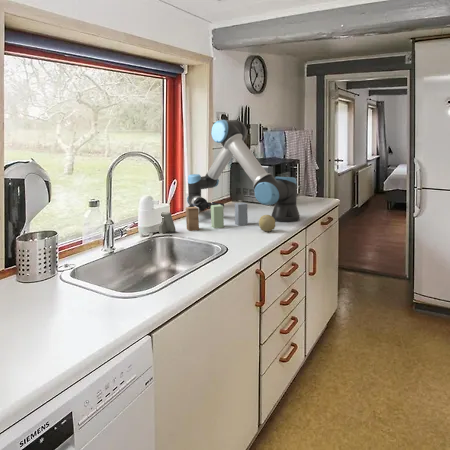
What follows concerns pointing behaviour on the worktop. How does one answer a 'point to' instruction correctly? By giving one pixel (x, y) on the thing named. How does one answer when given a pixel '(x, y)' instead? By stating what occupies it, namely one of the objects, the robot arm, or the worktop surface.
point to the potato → (267, 223)
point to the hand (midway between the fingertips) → (210, 209)
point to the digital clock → (166, 223)
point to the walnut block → (192, 218)
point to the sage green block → (217, 216)
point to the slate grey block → (241, 214)
